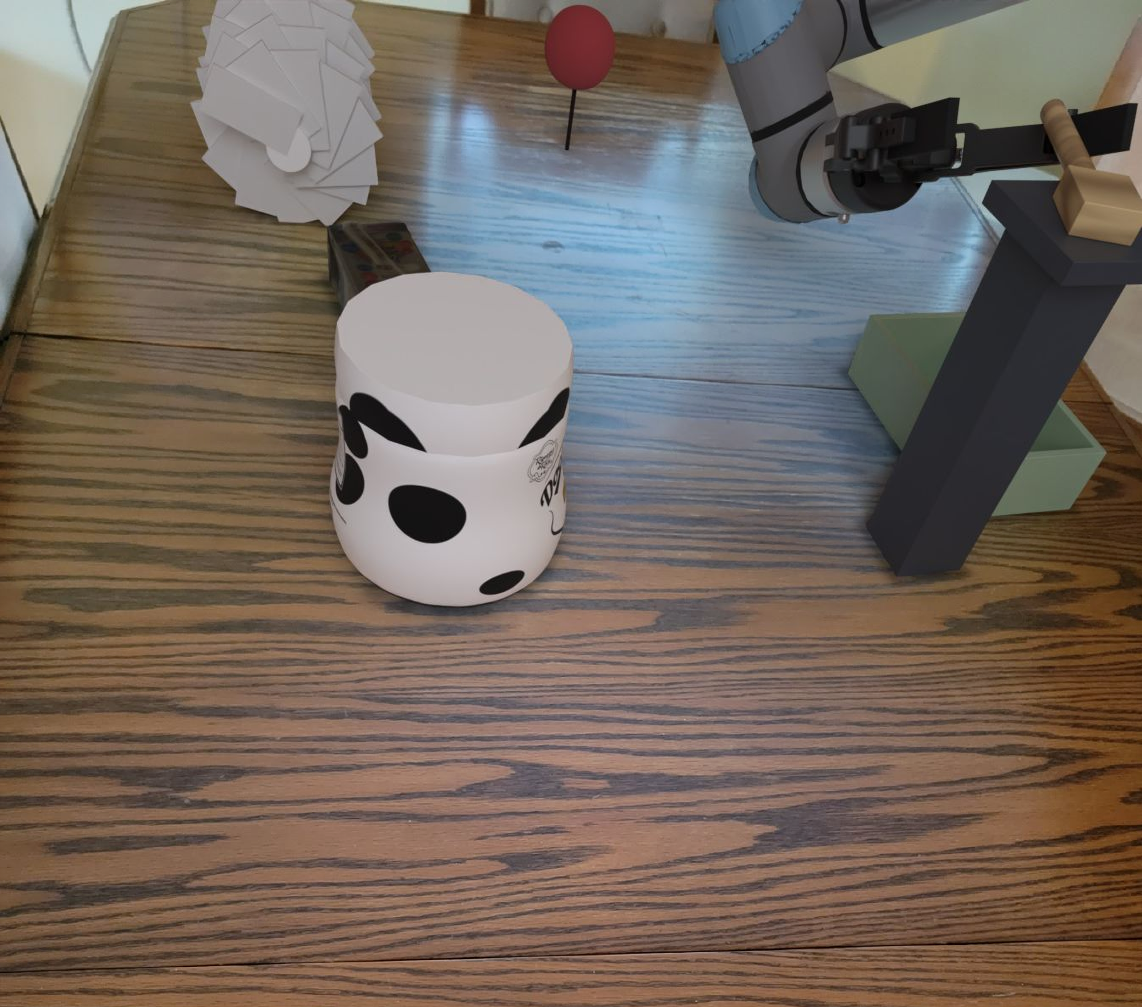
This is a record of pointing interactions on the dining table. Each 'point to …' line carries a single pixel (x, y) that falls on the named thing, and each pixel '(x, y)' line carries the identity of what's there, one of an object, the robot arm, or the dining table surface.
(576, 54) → the lollipop
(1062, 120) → the wooden mallet
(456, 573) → the milk container
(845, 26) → the robot arm
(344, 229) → the beverage carton
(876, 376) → the bin
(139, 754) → the dining table surface
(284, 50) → the spiral staircase
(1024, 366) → the dark capped post
